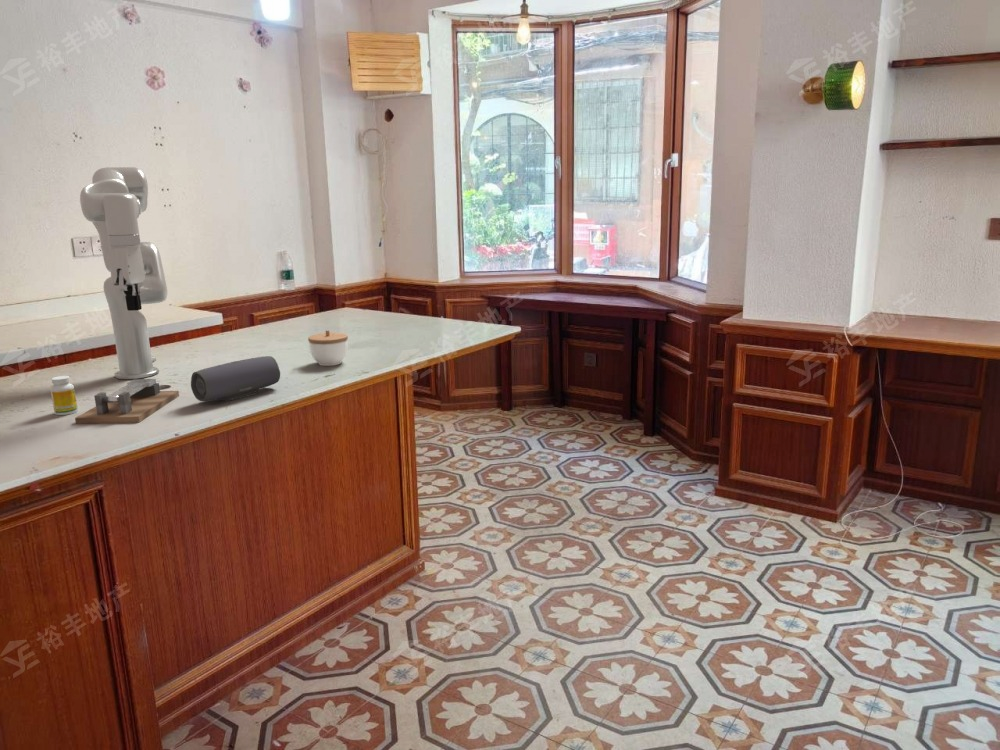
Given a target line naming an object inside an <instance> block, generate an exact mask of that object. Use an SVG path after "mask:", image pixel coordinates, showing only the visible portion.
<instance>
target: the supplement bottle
mask: <svg viewBox="0 0 1000 750" xmlns="http://www.w3.org/2000/svg"><path fill="white" fill-rule="evenodd" d="M70 382H71V379H70V376H69V375H59V376H54V377H52V378H51V384H52V386H51V387H50V395H51V402H52V405H53V406H52V407H53V412H54V414H55V415H57V416H69V415H72V414H76V413H77V412H78V409H79V408H78V403H77V397H76V391H75V385H73V384H72V383H70Z"/></svg>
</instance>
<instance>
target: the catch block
mask: <svg viewBox="0 0 1000 750" xmlns="http://www.w3.org/2000/svg"><path fill="white" fill-rule="evenodd" d="M160 391H161V388H160V383H159V382H158V383H157V382H156V383H155V384H154V385H152V386H150V387H145V388H143V389H142V390H140V391H138V392H136V393H135V394H133V395H131V396H154V395H157V394H159V393H160Z"/></svg>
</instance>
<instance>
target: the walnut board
mask: <svg viewBox="0 0 1000 750" xmlns="http://www.w3.org/2000/svg"><path fill="white" fill-rule="evenodd" d="M105 396H107V392H106V391H104V392H98V393H97V394H95V395H94V396H93V397H94V403H95V406H94V407H92V408H90V409H88V410H87V411H85V412H83V413H81V414H79V415H78V416H76V417H74V420H75V424H78V425H79V424H80V425H81V424H115V423H116V424H119V423H120V424H122V423H141V422H142V421H144V420H145V419H147V418H148V417H150V416H151V415H153V414H154V413H156V412H157V411H158V410H161V409H162V408H164V407H165V406H166V405H168V404H169V403H171V402H172V401H174V400H175V399H177V398H178V397H179V396H180V392H179V390H160V393H159V394H157V395H154V396H130V393H129V392H123V393H121V394H119V395H118V398H119V402H114V403H104V401H103V398H104V397H105Z"/></svg>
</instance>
